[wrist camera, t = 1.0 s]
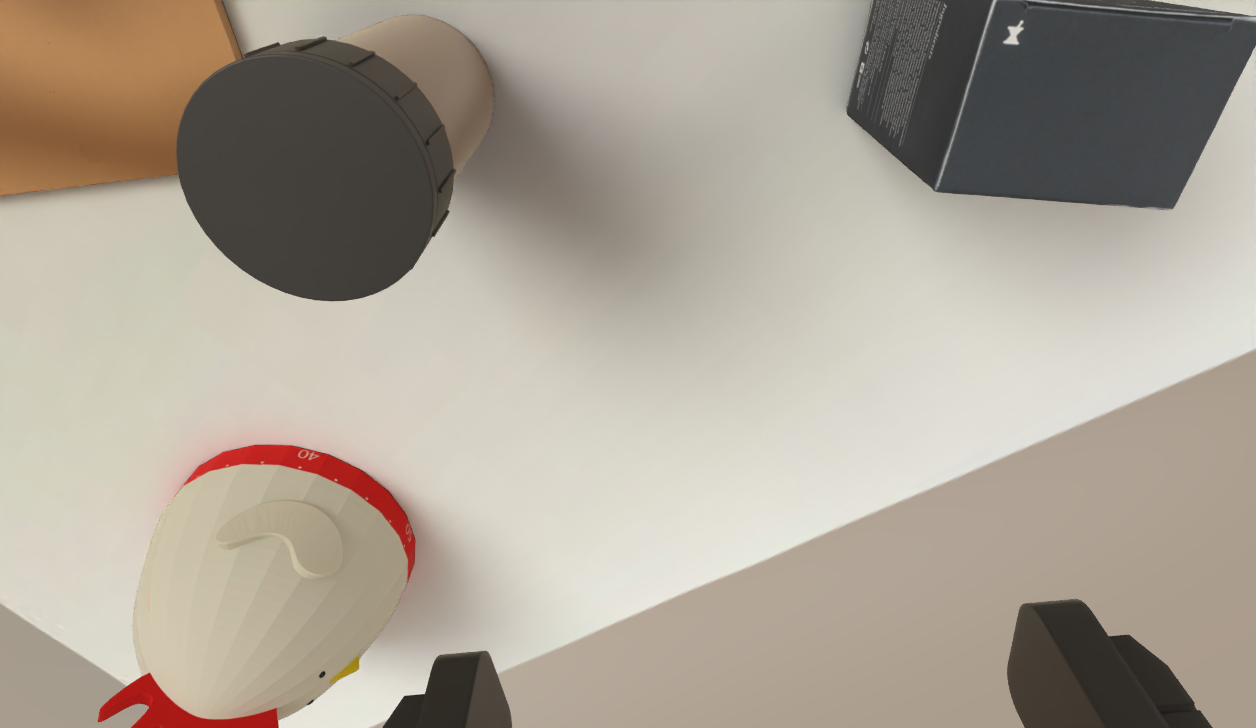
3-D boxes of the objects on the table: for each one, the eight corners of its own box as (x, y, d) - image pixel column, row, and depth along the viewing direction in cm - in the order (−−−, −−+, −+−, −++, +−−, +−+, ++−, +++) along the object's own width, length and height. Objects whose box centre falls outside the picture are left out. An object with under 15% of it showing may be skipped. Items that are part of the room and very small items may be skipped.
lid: (185, 53, 20) (127, 70, 18) (422, 23, 20) (394, 36, 18) (274, 275, 24) (234, 313, 22) (477, 252, 24) (459, 289, 21)
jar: (330, 24, 29) (163, 81, 19) (477, 5, 29) (390, 52, 18) (374, 171, 32) (251, 291, 22) (507, 155, 32) (447, 270, 21)
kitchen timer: (377, 638, 49) (287, 895, 36) (162, 574, 46) (-21, 829, 33) (445, 496, 42) (366, 746, 29) (200, 409, 39) (-9, 647, 26)
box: (842, 116, 31) (931, 195, 22) (877, -34, 28) (995, -13, 19) (1020, 132, 32) (1179, 216, 23) (1073, -15, 29) (1279, 14, 20)
